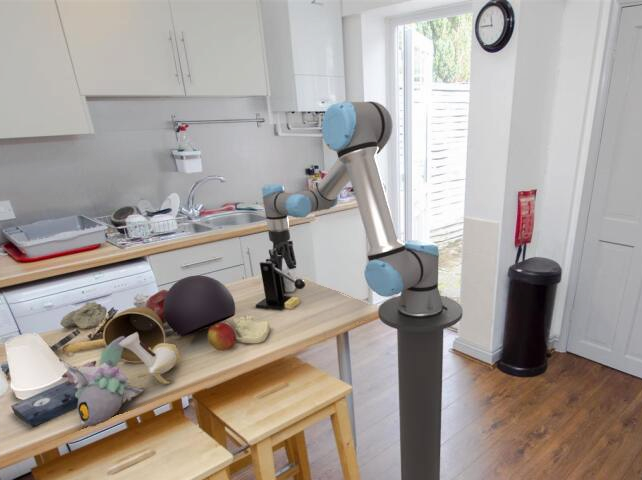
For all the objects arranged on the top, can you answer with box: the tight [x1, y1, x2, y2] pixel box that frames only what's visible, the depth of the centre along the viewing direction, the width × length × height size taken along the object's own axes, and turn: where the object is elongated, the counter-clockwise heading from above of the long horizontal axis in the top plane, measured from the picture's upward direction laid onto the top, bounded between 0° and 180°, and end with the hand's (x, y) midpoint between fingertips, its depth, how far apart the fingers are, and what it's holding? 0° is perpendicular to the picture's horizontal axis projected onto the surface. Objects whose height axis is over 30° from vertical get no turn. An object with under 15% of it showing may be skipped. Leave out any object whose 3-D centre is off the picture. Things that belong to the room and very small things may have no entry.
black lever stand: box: [255, 258, 293, 311], centre depth 159 cm, size 10×10×16 cm
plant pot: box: [102, 306, 166, 364], centre depth 131 cm, size 15×15×16 cm
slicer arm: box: [265, 261, 306, 290], centre depth 156 cm, size 15×4×4 cm, turn 76°
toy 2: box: [59, 336, 145, 428], centre depth 105 cm, size 14×16×15 cm
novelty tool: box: [62, 322, 176, 358], centre depth 138 cm, size 8×3×30 cm
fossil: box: [59, 301, 108, 330], centre depth 152 cm, size 14×10×10 cm
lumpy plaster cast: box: [233, 315, 271, 344], centre depth 139 cm, size 11×11×6 cm
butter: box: [284, 296, 301, 310], centre depth 161 cm, size 3×6×2 cm, turn 164°
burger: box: [86, 306, 119, 341], centre depth 141 cm, size 12×12×8 cm
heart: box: [145, 289, 169, 324], centre depth 150 cm, size 12×8×10 cm
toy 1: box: [48, 328, 82, 353], centre depth 130 cm, size 14×2×10 cm
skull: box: [132, 293, 152, 307], centre depth 158 cm, size 7×15×6 cm, turn 85°
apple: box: [207, 322, 237, 351], centre depth 133 cm, size 8×8×8 cm
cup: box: [4, 332, 68, 401], centre depth 113 cm, size 12×12×14 cm
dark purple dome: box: [163, 275, 236, 337], centre depth 137 cm, size 20×20×16 cm
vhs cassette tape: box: [10, 382, 78, 428], centre depth 110 cm, size 18×3×10 cm
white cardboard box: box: [282, 268, 297, 293], centre depth 174 cm, size 6×6×7 cm
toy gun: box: [119, 332, 181, 385], centre depth 119 cm, size 10×21×15 cm, turn 13°
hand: (287, 288), depth 175 cm, fingers open, 7 cm apart
